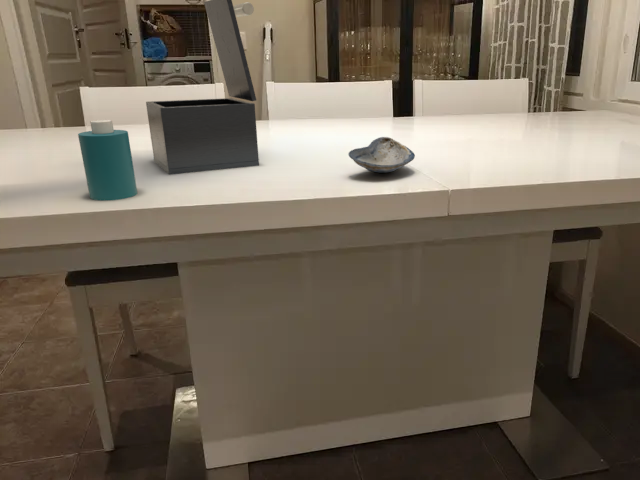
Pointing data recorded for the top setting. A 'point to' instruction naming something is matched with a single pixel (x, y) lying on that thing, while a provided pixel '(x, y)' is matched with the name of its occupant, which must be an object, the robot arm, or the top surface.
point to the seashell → (382, 155)
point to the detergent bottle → (107, 162)
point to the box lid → (231, 45)
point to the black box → (203, 134)
